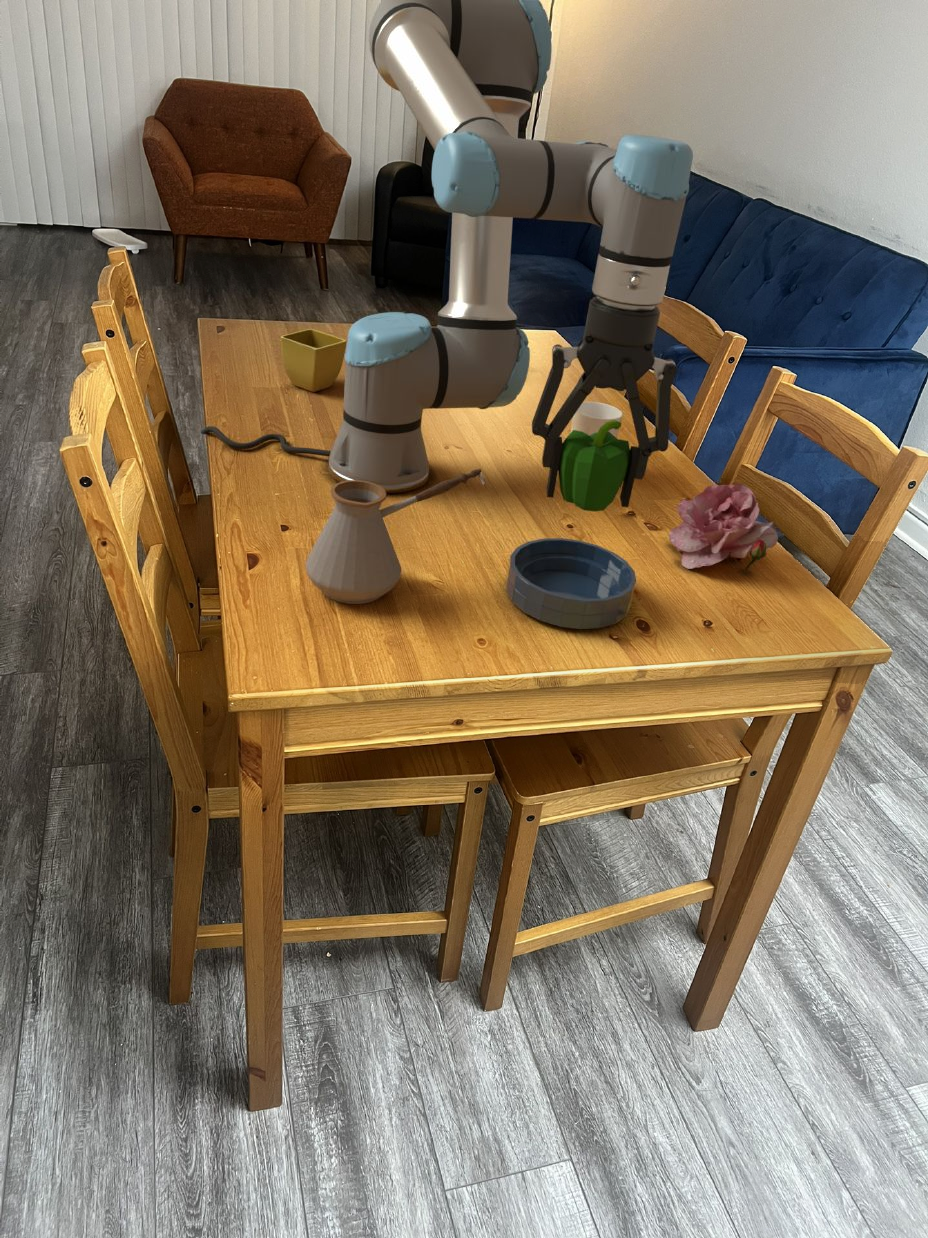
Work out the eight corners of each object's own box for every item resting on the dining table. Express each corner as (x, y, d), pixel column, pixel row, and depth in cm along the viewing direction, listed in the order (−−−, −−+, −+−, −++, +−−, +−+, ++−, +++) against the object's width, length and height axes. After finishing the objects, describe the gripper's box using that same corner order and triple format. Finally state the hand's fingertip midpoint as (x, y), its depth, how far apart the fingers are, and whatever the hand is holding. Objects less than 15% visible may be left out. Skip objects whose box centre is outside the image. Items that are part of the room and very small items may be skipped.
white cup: (608, 481, 152) (621, 422, 147) (560, 472, 153) (571, 413, 148) (611, 463, 159) (623, 406, 154) (565, 455, 160) (576, 398, 154)
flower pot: (345, 387, 175) (348, 339, 171) (315, 398, 169) (317, 348, 164) (309, 375, 179) (310, 327, 174) (278, 385, 172) (278, 336, 168)
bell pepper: (563, 518, 107) (578, 435, 102) (543, 487, 114) (556, 408, 109) (631, 518, 109) (650, 437, 104) (608, 488, 116) (624, 410, 111)
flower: (698, 504, 141) (713, 452, 133) (785, 552, 135) (806, 501, 127) (641, 556, 134) (654, 505, 126) (731, 610, 127) (750, 559, 120)
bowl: (504, 623, 112) (509, 591, 109) (506, 561, 125) (511, 531, 123) (634, 640, 112) (642, 608, 110) (622, 576, 125) (629, 546, 123)
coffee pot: (316, 617, 108) (321, 498, 100) (295, 568, 117) (298, 455, 109) (487, 600, 116) (504, 489, 108) (455, 555, 125) (469, 449, 117)
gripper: (527, 296, 96) (498, 499, 108) (730, 322, 96) (679, 522, 108) (527, 280, 102) (499, 473, 114) (718, 305, 103) (670, 495, 115)
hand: (586, 497), depth 111 cm, fingers closed on bell pepper, 8 cm apart
